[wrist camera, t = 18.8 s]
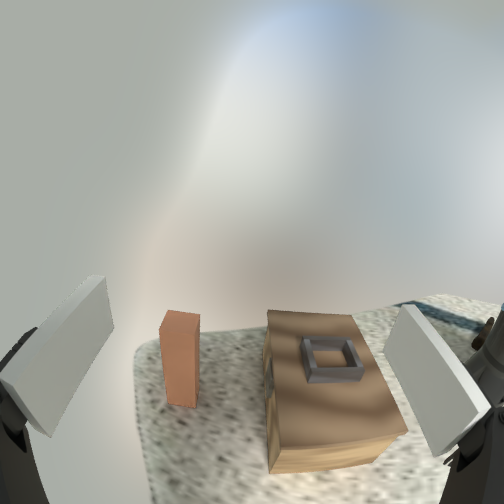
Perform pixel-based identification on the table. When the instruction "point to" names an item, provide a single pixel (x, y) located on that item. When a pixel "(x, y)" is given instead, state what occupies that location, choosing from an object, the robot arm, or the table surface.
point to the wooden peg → (180, 357)
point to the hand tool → (483, 334)
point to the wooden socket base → (324, 395)
